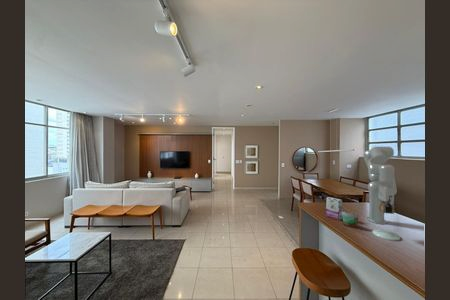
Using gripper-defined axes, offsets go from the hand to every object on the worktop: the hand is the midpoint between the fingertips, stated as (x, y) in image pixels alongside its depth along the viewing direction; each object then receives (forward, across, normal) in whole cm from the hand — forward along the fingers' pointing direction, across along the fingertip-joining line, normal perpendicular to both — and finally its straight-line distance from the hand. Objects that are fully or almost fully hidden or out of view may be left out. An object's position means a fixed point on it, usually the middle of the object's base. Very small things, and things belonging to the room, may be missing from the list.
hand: (386, 210), depth 127 cm
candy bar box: (+17, -26, -25) cm, 40 cm away
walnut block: (+1, 0, 0) cm, 1 cm away
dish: (+17, 0, 0) cm, 17 cm away
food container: (+17, -11, -19) cm, 28 cm away
